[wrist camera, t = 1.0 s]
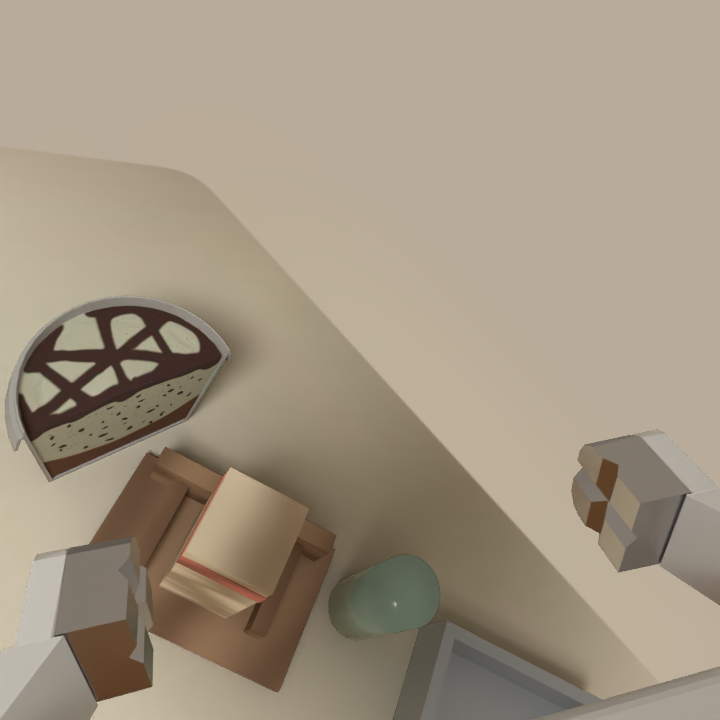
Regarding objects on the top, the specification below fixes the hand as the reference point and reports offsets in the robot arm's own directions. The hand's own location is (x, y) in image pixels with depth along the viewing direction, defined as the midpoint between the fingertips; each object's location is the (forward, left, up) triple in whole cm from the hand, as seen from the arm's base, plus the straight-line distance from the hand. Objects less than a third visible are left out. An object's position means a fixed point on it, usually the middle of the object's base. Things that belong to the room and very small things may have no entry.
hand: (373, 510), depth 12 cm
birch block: (0, +5, -31) cm, 32 cm away
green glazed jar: (+10, +7, -32) cm, 34 cm away
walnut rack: (0, +5, -32) cm, 32 cm away
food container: (-11, +11, -32) cm, 35 cm away
